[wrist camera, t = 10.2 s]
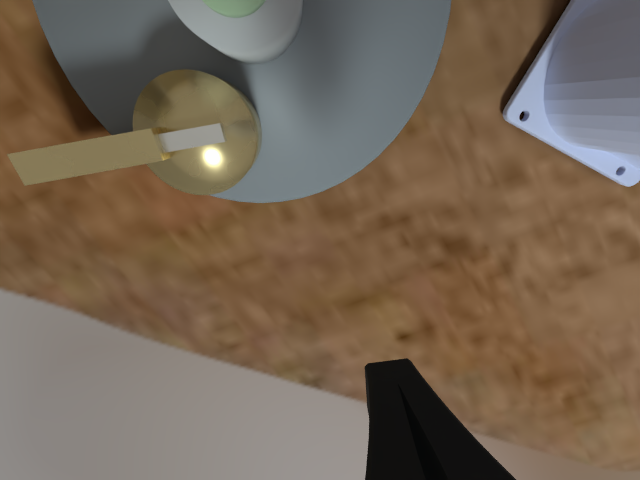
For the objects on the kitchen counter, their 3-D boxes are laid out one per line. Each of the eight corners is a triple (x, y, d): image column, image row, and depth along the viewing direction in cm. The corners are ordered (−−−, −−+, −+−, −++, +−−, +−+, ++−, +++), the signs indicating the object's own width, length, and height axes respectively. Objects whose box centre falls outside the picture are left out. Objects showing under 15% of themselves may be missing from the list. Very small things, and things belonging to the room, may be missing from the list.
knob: (247, 66, 13) (233, 54, 11) (272, 174, 15) (265, 189, 12) (43, 103, 13) (-23, 102, 11) (93, 206, 15) (48, 227, 13)
